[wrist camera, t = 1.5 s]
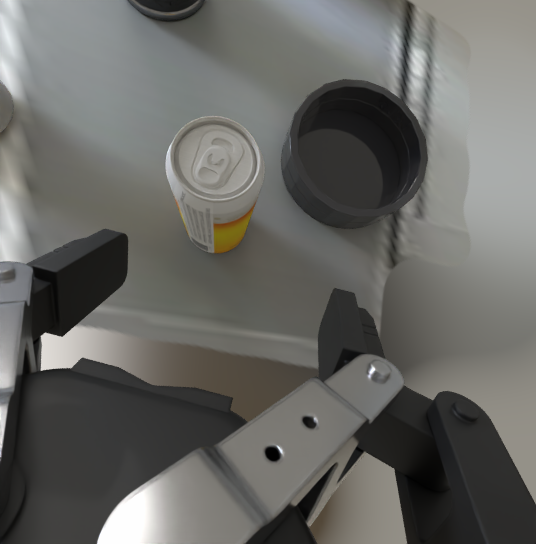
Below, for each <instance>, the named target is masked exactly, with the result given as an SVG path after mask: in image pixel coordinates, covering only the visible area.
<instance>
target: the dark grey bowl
mask: <svg viewBox="0 0 536 544" xmlns="http://www.w3.org/2000/svg"><path fill="white" fill-rule="evenodd" d="M427 159H428V156H427V147H426V139H425V136H424V134H423V132H422V129H421V127H420V125H419V122H418V120H417V119H416V117H415V116H414V114H413V113H412V112H411V110H410V109H409V108H408V107H407V105H406V104H405V103H404V102H403V101H402V100H401V99H400V98H398V97H397V96H395V95H394V94H393V93H391V92H390V91H389V90H387V89H385V88H383V87H381V86H378V85H375V84H373V83H370V82H367V81H362V80H347V79H345V80H344V79H343V80H339V81H335V82H331V83H328V84H324V85H323V86H321V87H320V88H318V89H317V90H315V91H314V92H312V93H311V94H309V95H308V96H307V97H306V98H305V100H304V101H303V102H302V104H301V105H300V107H299V108H298V109H297V111H296V112H295V115H294V117H293V120H292V122H291V125H290V127H289V130H288V132H287V135H286V139H285V142H284V145H283V149H282V157H281V166H282V173H283V178H284V181H285V184H286V186H287V188H288V191H289V193H290V194H291V196H292V197H293V199H294V200H295V202H296V203H297V204H298V205H299V206H300V207H301V208H302V209H303V210H304V211H305V212H306V213H307V214H308V215H310V216H311V217H313V218H314V219H316V220H318V221H319V222H322V223H324V224H326V225H329V226H333V227H337V228H344V229H353V228H360V227H364V226H368V225H370V224H372V223H375V222H377V221H380V220H381V219H383V218H385V217H387V216H388V215H390V214H392V213H394V212H395V211H397V210H399V209H400V208H401V207H402V206H404V205H405V204H406V203H407V202H408V201H410V200H411V199H412V198H413V197H414V196H415V194H416V192H417V190H418V189H419V187H420V185H421V184H422V182H423V180H424V176H425V171H426V166H427V161H428V160H427Z"/></svg>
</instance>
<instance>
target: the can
mask: <svg viewBox="0 0 536 544" xmlns="http://www.w3.org/2000/svg"><path fill="white" fill-rule="evenodd" d="M13 107H14V106H13V101H12V96H11V94H10V92H9V91H8V89H7V88H6V86H5V85H4V84H3V83H2V82H1V81H0V133H1V132H2V131H3V130H4V129H5V128H6V127H7V125H8V123H9V122H10V120H11V118H12V114H13Z"/></svg>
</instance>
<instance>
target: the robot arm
mask: <svg viewBox="0 0 536 544" xmlns="http://www.w3.org/2000/svg"><path fill="white" fill-rule="evenodd" d="M128 1H129V3H130V4H131V5H132V6H133V7H135V8H136V9H137V10H138V11H140V12H141V13H143V14H145V15H147V16H149V17H152V18H155V19H159V20H169V21H171V20H179V19H183V18H186V17H188V16H190V15H192V14H194V13H195V12H196V11H197V10H198V9H199V8H200V7H201V6H202V4H203V2H204V1H205V0H128ZM127 269H128V237H127V235H126V234H124V233H120V232H116V231H112V230H108V229H103V230H101V231H99V232H97V233H95V234H93V235H91V236H89V237H87V238H82V239H78V240H74V241H71V242H69V243H67V244H65V245H63V247H59V248H57V249H55V250H54V251H53V252H49V253H47V254H45V255H43V256H41V257H39V258H37V259H35V260H33V261H31V262H29V263H27V264H24V263H19V262H0V544H317V542H316V540H315V538H314V536H313V534H312V532H311V531H310V529H309V527H310V525H311V524H312V523H313V522H314V520H315V519H316V517H317V516H318V515H319V513H320V512H321V510H322V509H323V507H324V506H325V504H326V503H327V501H328V500H329V498H330V497H331V496H332V494H333V493H334V492H335V490H336V489H337V488H338V487H339V486H340V484H341V483H342V482H343V481H344V479H345V478H346V477H347V476H348V474H349V473H350V472H351V471H352V470H353V468H354V467H355V466H356V465H357V464H358V462H359V461H360V460H361V459H362V457H363V456H364V455H365V454H366V452H367V453H368V454H370V455H372V456H373V457H375V458H377V459H379V460H380V461H382V462H384V463H386V464H388V465H389V466H391V467H392V468H394V469H395V475H396V481H397V486H398V493H399V498H400V504H401V510H402V515H403V521H404V527H405V533H406V539H407V544H536V504H535V502H534V500H533V498H532V496H531V495H530V493H529V491H528V489H527V487H526V485H525V483H524V481H523V480H522V478H521V476H520V474H519V472H518V470H517V468H516V466H515V464H514V463H513V461H512V459H511V457H510V455H509V453H508V451H507V449H506V447H505V446H504V444H503V442H502V440H501V438H500V436H499V434H498V432H497V431H496V429H495V427H494V425H493V423H492V421H491V419H490V418H489V417H488V415H487V414H486V413H485V412H484V411H483V410H482V409H481V408H480V407H479V406H478V405H477V404H475V403H474V402H473V401H471V400H469V399H468V398H466V397H464V396H462V395H460V394H457V393H454V392H449V391H443V392H440V393H438V394H437V396H436V397H435V399H434V400H431V399H428V398H427V397H425V396H423V395H421V394H419V393H416V392H414V391H413V390H411V389H409V388H407V387H406V386H404V378H403V375H402V374H401V372H400V371H399V370H398V369H397V367H395V366H394V365H393V364H392V363H390V362H389V361H387V360H386V359H385V356H384V353H383V350H382V346H381V343H380V340H379V337H378V333H377V330H376V326H375V323H374V320H373V318H372V316H371V315H370V314H369V313H368V312H367V311H366V309H363V308H359V307H358V306H357V302H356V297H355V294H354V293H352V292H348V291H344V290H340V289H337V288H334V289H333V291H332V293H331V296H330V299H329V302H328V304H327V307H326V310H325V313H324V316H323V319H322V321H321V325H320V328H319V334H318V359H319V378H318V377H313V378H311V379H309V380H308V381H307V382H305V383H304V384H302V385H301V386H299V387H298V388H297V389H295V390H294V391H292V392H291V393H289V394H288V395H287V396H285V397H284V398H282V399H281V400H279V401H278V402H276V403H275V404H274V405H272V406H271V407H270V408H268V409H266V410H265V411H264V412H262V413H261V414H259V415H258V416H257V417H255V418H254V419H252V420H251V421H250V422H247V421H246V420H245V419H243V418H242V417H241V416H239V415H238V414H236V413H234V412H233V411H231V410H230V408H231V404H232V400H233V398H232V397H228V396H224V395H220V394H217V393H213V392H209V391H206V390H202V389H198V388H189V387H171V386H170V387H169V386H155V385H151V384H149V383H147V382H144V381H143V380H141V379H139V378H137V377H136V376H134V375H132V374H130V373H128V372H126V371H125V370H123V369H121V368H119V367H115V366H112V365H108V364H104V363H100V362H96V361H93V360H89V359H85V358H81V359H80V360H79V361H78V362H77V363H76V364H75V365H74V366H73V367H72V368H71V369H70V368H66V369H65V368H64V369H63V368H62V369H50V370H43V371H40V369H41V347H42V344H41V335H43V334H44V333H45V332H46V333H50V334H53V335H57V336H61V337H63V336H64V335H65V334H66V333H67V332H68V331H70V330H71V329H72V328H73V327H74V326H75V325H77V324H78V323H79V322H80V321H81V320H82V319H84V318H85V317H86V316H87V315H88V314H89V313H91V312H92V311H93V310H94V309H95V308H96V307H98V306H99V305H100V304H101V303H102V302H103V301H105V300H106V299H107V298H108V297H109V296H110V295H112V294H113V293H114V292H115V291H116V290H117V289H119V288H120V287H121V286H122V285H123V283H124V281H125V279H126V276H127Z"/></svg>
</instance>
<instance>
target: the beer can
mask: <svg viewBox="0 0 536 544" xmlns="http://www.w3.org/2000/svg"><path fill="white" fill-rule="evenodd" d="M166 174H167V178H168V181H169V184H170V186H171V189H172V192H173V195H174V198H175V200H176V203H177V206H178V209H179V211H180V214H181V217H182V220H183V222H184V225H185V228H186V231H187V233H188V236H189V238H190V239H191V241H192V242H193V243H194V244H195V245H196V246H197V247H198V248H200V249H202V250H204V251H206V252H210V253H223V252H227V251H229V250H231V249H233V248H235V247H236V246H237V245H238V244H239V243H240V242H241V240H242V239H243V237H244V234H245V232H246V229H247V226H248V223H249V220H250V218H251V215H252V212H253V209H254V206H255V204H256V201H257V198H258V195H259V192H260V189H261V187H262V184H263V180H264V175H265V165H264V159H263V156H262V153H261V151H260V149H259V147H258V145H257V143H256V141H255V139H254V138H253V136H252V135H251V134H250V132H249V131H248V130H247V129H245V128H244V127H243V126H242V125H240V124H239V123H237V122H235V121H233V120H231V119H228V118H225V117H220V116H206V117H201V118H198V119H195V120H193V121H191V122H189V123H188V124H186V125H185V126H184V127H182V128H181V129H180V131H179V132H178V133H177V135H176V136H175V138H174V140H173V142H172V143H171V145H170V147H169V149H168V152H167V156H166Z"/></svg>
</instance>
